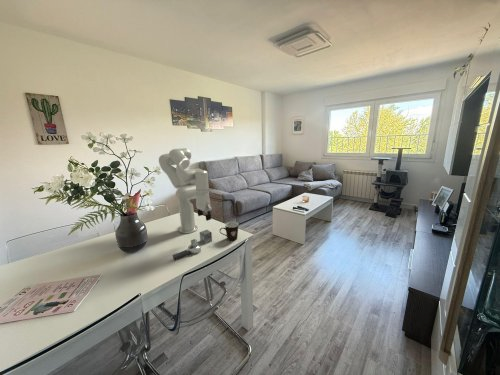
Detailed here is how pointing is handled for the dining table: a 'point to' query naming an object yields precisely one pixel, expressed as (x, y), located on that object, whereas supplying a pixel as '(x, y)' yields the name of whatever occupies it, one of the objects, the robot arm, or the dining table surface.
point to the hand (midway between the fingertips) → (204, 217)
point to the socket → (205, 236)
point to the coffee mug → (231, 230)
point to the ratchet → (189, 250)
